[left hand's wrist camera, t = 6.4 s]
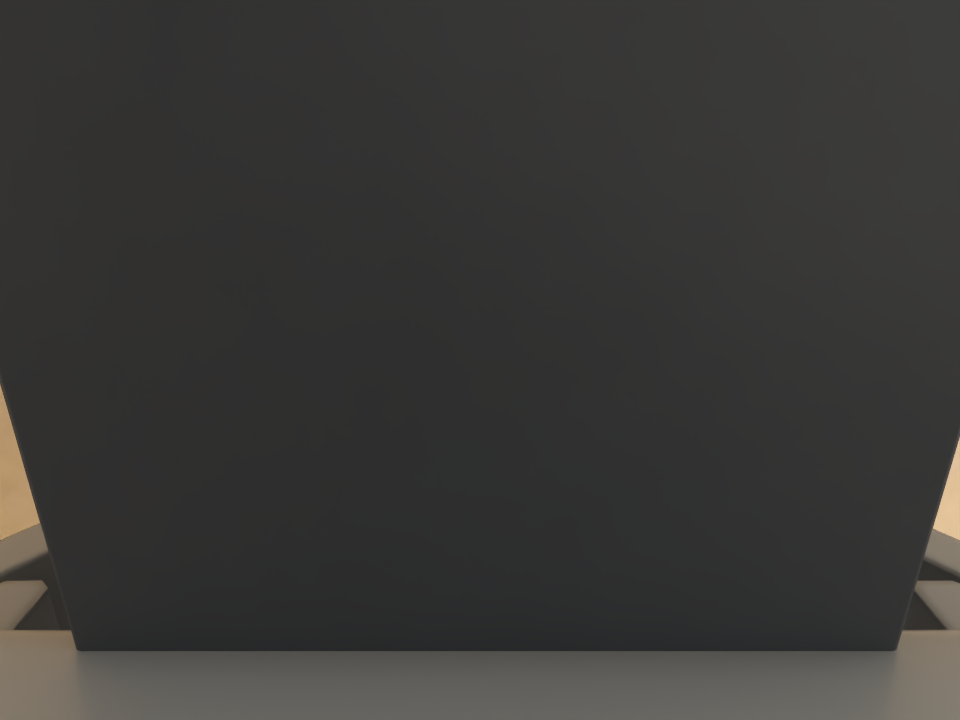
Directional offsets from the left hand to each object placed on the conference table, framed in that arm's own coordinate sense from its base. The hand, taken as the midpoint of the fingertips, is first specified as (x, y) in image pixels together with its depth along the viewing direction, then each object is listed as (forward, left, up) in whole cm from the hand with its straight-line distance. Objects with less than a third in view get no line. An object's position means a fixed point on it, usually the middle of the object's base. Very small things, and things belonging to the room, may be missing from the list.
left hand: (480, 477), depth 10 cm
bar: (-2, +9, -4) cm, 11 cm away
